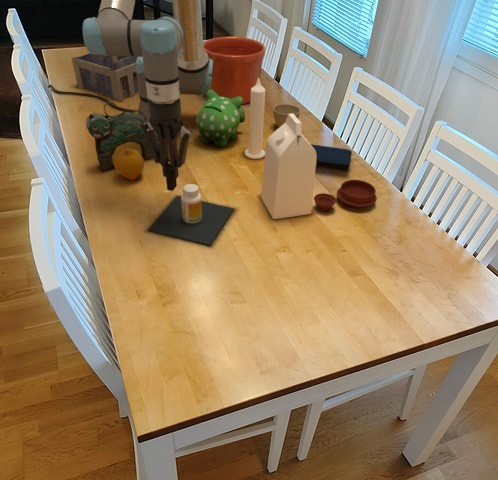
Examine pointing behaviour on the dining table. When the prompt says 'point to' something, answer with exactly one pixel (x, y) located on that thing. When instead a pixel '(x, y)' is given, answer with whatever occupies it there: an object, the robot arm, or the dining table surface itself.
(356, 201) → the pottery
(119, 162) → the apple
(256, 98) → the candle
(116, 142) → the ceramic cat
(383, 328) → the dining table surface
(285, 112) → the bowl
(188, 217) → the supplement bottle
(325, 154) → the game console
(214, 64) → the pot
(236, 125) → the piggy bank
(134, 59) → the building
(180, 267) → the dining table surface
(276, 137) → the milk
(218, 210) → the mat
